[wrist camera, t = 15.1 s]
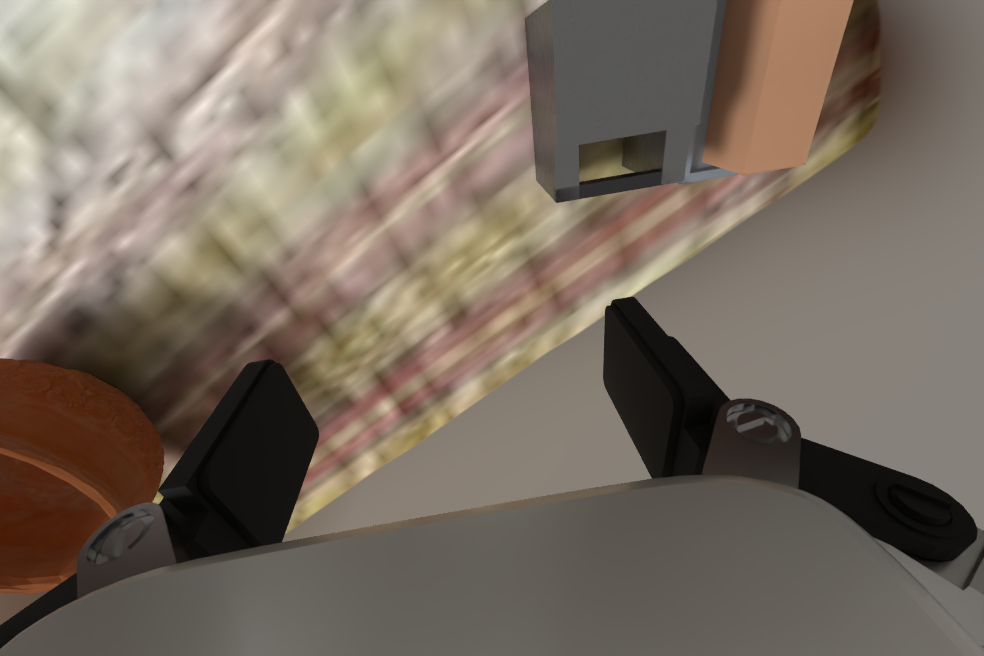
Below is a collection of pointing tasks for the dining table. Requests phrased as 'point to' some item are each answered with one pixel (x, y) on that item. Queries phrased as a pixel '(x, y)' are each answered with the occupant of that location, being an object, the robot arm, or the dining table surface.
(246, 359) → the dining table surface
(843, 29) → the tan rectangular block
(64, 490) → the bowl
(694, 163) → the tray
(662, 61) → the dispenser
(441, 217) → the dining table surface
